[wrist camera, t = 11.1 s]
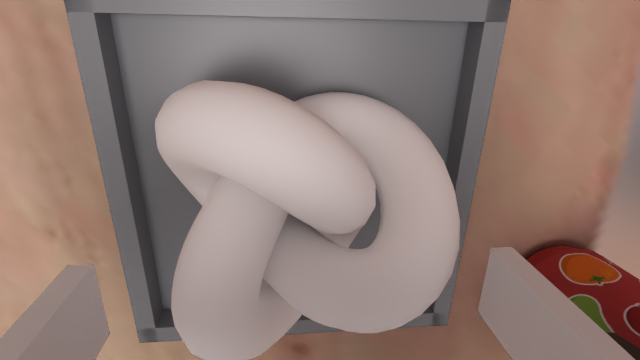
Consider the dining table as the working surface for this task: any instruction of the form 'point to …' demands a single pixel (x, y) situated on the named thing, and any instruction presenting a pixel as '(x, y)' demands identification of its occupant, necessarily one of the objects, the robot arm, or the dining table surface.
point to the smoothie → (594, 288)
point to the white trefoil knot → (302, 215)
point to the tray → (284, 79)
